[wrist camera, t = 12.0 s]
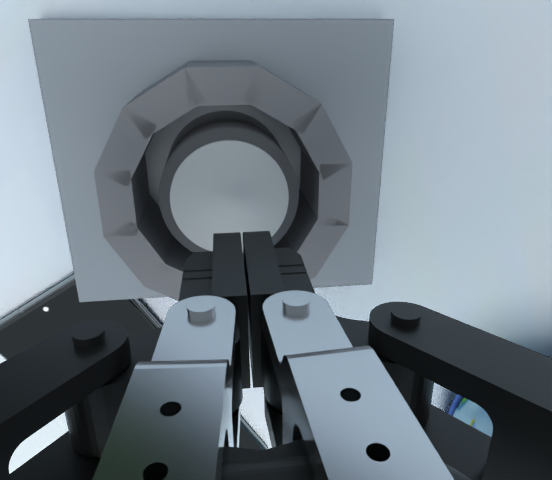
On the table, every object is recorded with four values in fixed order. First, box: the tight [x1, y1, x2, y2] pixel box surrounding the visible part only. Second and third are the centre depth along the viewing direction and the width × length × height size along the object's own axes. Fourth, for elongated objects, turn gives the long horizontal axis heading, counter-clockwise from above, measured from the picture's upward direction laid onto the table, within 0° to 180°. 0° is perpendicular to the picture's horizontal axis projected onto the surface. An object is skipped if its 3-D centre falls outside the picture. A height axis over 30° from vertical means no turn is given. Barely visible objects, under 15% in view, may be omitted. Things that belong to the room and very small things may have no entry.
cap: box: [159, 111, 299, 252], centre depth 19 cm, size 5×5×4 cm
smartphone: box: [0, 274, 268, 450], centre depth 27 cm, size 7×1×16 cm
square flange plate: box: [28, 19, 394, 302], centre depth 20 cm, size 14×12×6 cm
